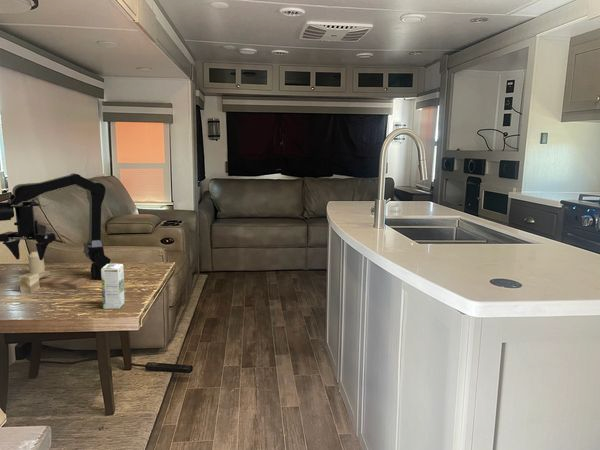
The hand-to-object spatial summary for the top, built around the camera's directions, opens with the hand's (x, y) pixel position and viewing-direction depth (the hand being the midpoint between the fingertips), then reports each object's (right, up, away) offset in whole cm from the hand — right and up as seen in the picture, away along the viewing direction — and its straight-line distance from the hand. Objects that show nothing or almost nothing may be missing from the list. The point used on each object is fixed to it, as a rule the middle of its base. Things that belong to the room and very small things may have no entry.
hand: (29, 259), depth 168 cm
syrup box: (+37, -15, -13) cm, 42 cm away
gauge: (0, -11, +5) cm, 12 cm away
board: (+6, -11, +8) cm, 15 cm away
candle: (-9, -8, +20) cm, 24 cm away
